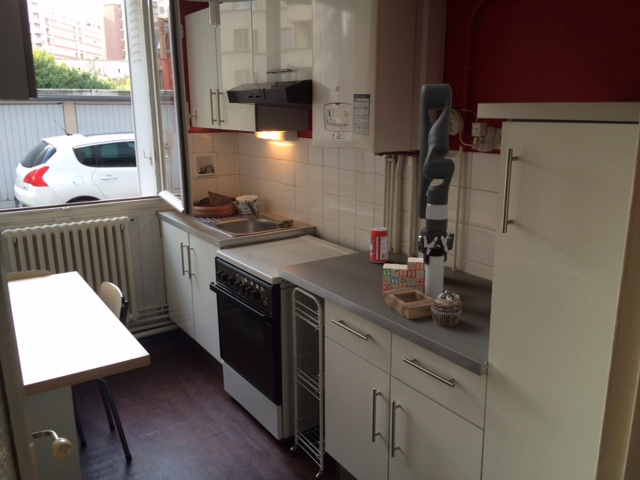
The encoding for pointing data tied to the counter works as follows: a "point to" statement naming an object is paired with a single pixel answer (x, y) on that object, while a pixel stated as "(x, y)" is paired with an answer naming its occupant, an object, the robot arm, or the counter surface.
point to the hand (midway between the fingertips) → (434, 262)
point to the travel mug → (435, 272)
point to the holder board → (408, 302)
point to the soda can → (379, 245)
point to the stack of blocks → (405, 275)
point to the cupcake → (446, 309)
